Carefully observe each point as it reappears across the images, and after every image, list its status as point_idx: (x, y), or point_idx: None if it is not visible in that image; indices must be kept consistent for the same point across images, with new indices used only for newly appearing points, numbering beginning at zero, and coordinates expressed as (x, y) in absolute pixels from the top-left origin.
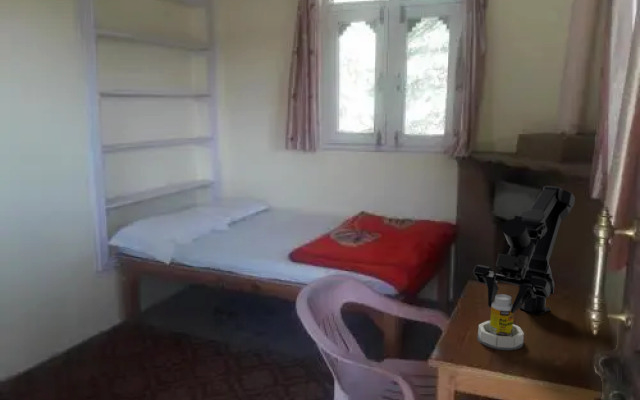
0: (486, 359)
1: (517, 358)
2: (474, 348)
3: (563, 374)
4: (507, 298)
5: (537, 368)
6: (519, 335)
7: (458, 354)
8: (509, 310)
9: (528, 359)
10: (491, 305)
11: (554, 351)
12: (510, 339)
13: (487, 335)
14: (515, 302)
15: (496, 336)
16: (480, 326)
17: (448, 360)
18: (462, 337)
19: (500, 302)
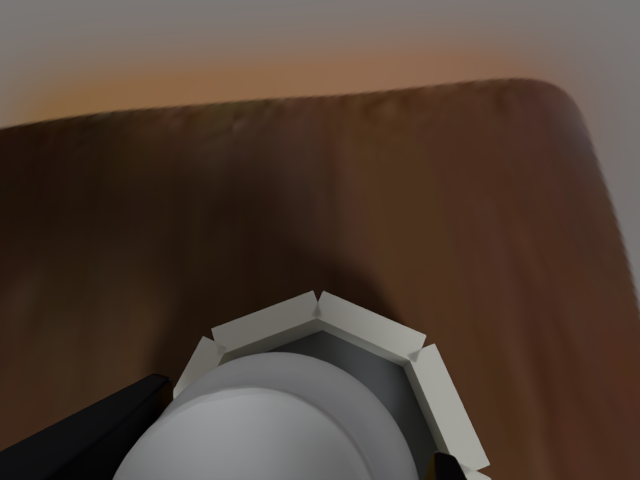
0: (351, 175)
1: (210, 253)
2: (436, 264)
3: (21, 195)
4: (162, 470)
5: (124, 197)
6: (173, 397)
7: (490, 163)
8: (186, 388)
9: (157, 267)
10: (412, 457)
11: (6, 437)
12: (234, 321)
13: (384, 318)
14: (60, 441)
15: (322, 305)
16: (467, 439)
17: (510, 91)
18: (552, 385)
19: (281, 387)
